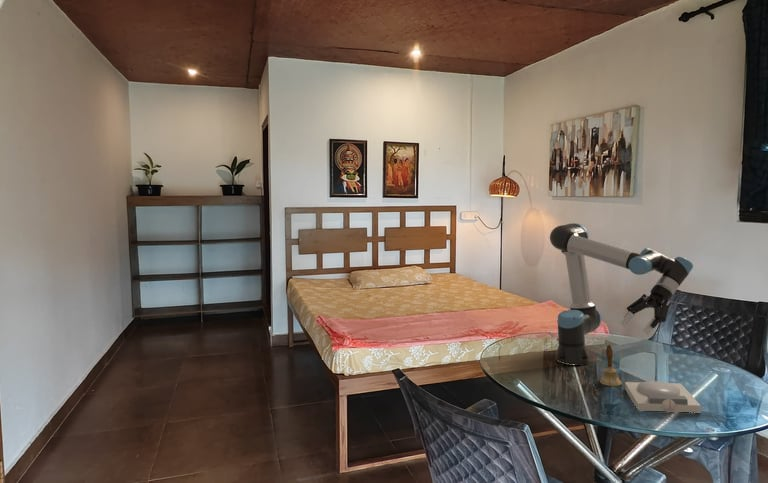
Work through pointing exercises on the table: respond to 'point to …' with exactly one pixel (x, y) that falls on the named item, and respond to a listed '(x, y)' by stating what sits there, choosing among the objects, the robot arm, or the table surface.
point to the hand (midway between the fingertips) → (633, 328)
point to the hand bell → (610, 371)
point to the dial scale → (661, 397)
